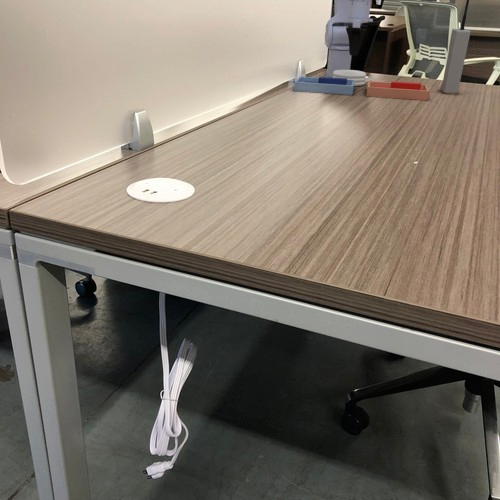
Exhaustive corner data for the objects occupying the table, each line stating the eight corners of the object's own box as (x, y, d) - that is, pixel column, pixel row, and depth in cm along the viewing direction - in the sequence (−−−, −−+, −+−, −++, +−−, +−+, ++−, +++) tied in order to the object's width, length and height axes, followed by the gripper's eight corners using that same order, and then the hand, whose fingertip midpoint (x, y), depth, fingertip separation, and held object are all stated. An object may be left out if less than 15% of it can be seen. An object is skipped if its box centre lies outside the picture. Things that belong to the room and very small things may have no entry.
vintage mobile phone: (452, 90, 149) (472, -4, 137) (457, 94, 144) (478, -4, 133) (439, 90, 149) (458, -5, 137) (444, 93, 145) (463, -5, 133)
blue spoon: (302, 88, 144) (303, 77, 142) (304, 85, 148) (305, 74, 146) (345, 91, 141) (346, 80, 140) (346, 88, 145) (347, 77, 144)
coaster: (325, 81, 157) (326, 70, 155) (352, 80, 161) (353, 68, 159) (344, 87, 149) (345, 75, 147) (371, 85, 153) (373, 73, 151)
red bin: (367, 89, 147) (368, 81, 146) (425, 93, 144) (426, 84, 143) (366, 96, 138) (367, 86, 137) (427, 100, 135) (429, 91, 134)
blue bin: (299, 84, 151) (299, 76, 149) (354, 88, 147) (355, 80, 146) (293, 90, 142) (294, 82, 141) (352, 95, 139) (353, 85, 138)
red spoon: (374, 93, 140) (375, 81, 138) (374, 90, 144) (375, 79, 142) (419, 96, 138) (421, 84, 136) (418, 93, 141) (420, 82, 140)
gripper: (374, 2, 132) (367, 57, 138) (375, 1, 144) (369, 51, 150) (347, 1, 133) (341, 55, 139) (350, 0, 146) (345, 50, 152)
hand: (354, 53), depth 145 cm, fingers open, 7 cm apart
